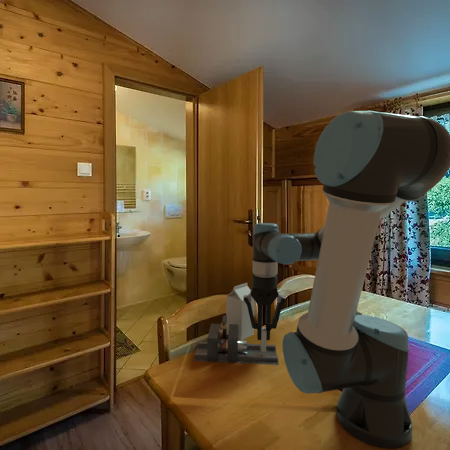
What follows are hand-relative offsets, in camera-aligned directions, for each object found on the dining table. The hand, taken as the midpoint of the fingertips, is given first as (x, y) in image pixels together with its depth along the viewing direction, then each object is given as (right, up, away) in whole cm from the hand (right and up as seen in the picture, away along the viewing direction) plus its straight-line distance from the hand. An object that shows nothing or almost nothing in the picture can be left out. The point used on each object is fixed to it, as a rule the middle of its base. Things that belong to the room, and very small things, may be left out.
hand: (263, 349), depth 98 cm
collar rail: (-8, -3, +1) cm, 9 cm away
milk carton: (-7, -2, +15) cm, 16 cm away
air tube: (-11, -1, +1) cm, 11 cm away
